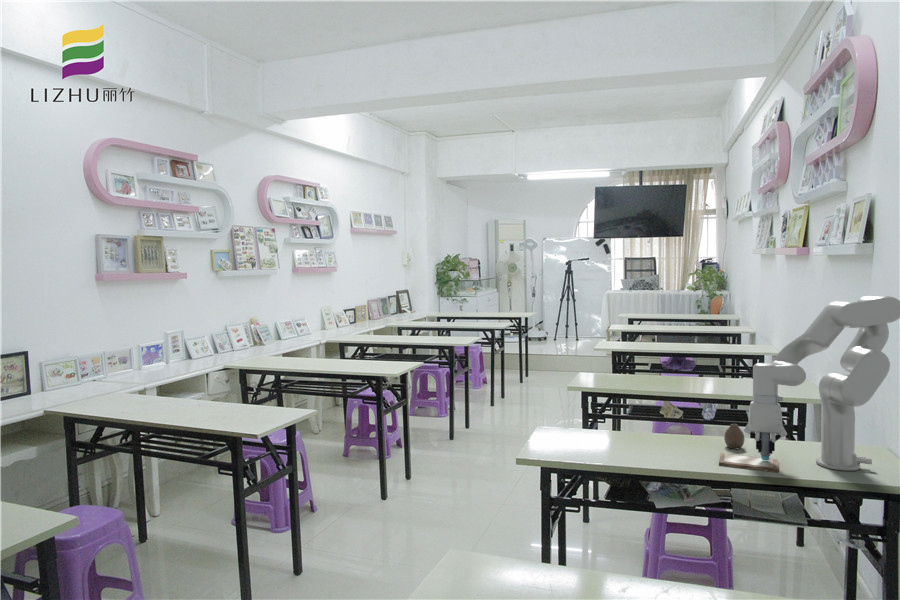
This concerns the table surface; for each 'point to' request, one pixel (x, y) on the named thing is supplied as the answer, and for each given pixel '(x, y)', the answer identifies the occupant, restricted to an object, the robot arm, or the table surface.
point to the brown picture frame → (748, 462)
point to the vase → (734, 436)
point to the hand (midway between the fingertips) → (765, 451)
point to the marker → (765, 445)
